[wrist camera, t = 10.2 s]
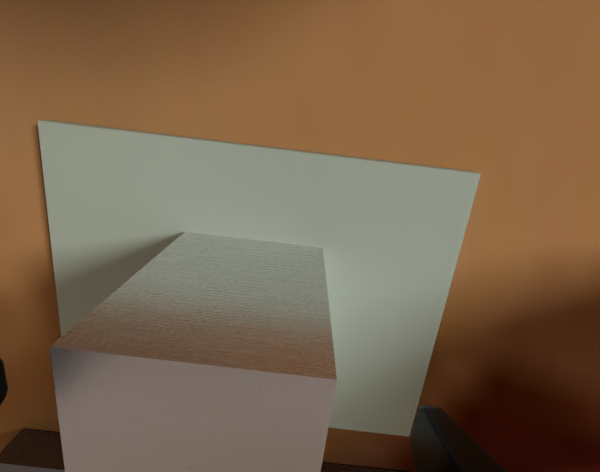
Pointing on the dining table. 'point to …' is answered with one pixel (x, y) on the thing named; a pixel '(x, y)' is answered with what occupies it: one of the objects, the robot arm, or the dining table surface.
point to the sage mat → (270, 239)
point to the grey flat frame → (50, 465)
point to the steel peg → (202, 364)
